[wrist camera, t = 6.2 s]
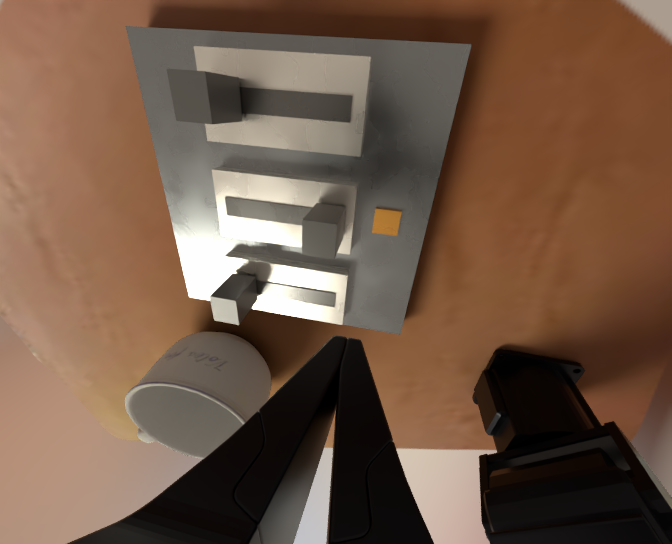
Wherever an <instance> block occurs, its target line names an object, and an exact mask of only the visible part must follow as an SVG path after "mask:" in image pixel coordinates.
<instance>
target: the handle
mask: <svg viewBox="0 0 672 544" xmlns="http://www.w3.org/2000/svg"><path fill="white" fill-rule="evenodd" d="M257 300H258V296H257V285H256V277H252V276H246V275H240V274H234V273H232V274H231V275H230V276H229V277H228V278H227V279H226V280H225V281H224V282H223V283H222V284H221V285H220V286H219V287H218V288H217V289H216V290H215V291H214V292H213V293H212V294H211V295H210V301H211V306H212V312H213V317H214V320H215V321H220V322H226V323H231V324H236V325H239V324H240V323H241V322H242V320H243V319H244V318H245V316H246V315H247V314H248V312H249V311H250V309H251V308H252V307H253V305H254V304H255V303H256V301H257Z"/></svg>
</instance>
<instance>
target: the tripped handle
mask: <svg viewBox="0 0 672 544" xmlns="http://www.w3.org/2000/svg"><path fill="white" fill-rule="evenodd" d="M345 214H346V207H343V206H335V205H328V204H320V203H316V204H315V205H314V207H313V208H312V209H311V210H310V211H309V213H308V214H307V215H306V216H305V217H304V218H303V220H302V255H306V256H313V257H320V258H326V259H333V260H334V259H335V257H336V254H337V252H338V250H339V247H340V245H341V242H342V240H343V236H344V225H345Z"/></svg>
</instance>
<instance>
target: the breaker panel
mask: <svg viewBox="0 0 672 544" xmlns="http://www.w3.org/2000/svg"><path fill="white" fill-rule="evenodd" d="M126 30H127V34H128V38H129V43H130V47H131V51H132V55H133V60H134V64H135V68H136V72H137V77H138V81H139V85H140V89H141V94H142V98H143V102H144V106H145V111H146V115H147V119H148V123H149V128H150V132H151V136H152V140H153V145H154V149H155V153H156V157H157V162H158V166H159V170H160V175H161V179H162V183H163V187H164V192H165V196H166V200H167V204H168V209H169V213H170V217H171V221H172V226H173V230H174V234H175V238H176V243H177V247H178V251H179V255H180V260H181V264H182V268H183V272H184V277H185V281H186V285H187V289H188V294H189V297H192V298H198V299H203V300H209V301H210V295H211V294H212V293H213V292H214V291H215V290H216V289H217V288H218V287H219V286H220V285H221V284H222V283H223V282H224V281H225V280H226V279H227V278H228V277H229V276H230V275H231V274H232V273H234V274H240V275H246V276H252V277H256V285H257V296H258V300H257V301H256V303H255V304H254V305H253V307H252V308H251V309H255V310H261V311H266V312H272V313H278V314H283V315H289V316H294V317H300V318H306V319H311V320H317V321H322V322H328V323H333V324H339V325H348V326H354V327H360V328H365V329H371V330H376V331H382V332H388V333H393V334H399V335H400V334H401V330H402V326H403V322H404V318H405V313H406V309H407V305H408V301H409V297H410V293H411V289H412V285H413V281H414V277H415V273H416V269H417V265H418V261H419V257H420V252H421V248H422V244H423V240H424V236H425V232H426V228H427V224H428V220H429V216H430V212H431V208H432V204H433V200H434V196H435V192H436V187H437V183H438V179H439V175H440V171H441V167H442V163H443V159H444V155H445V151H446V147H447V143H448V139H449V135H450V131H451V126H452V122H453V118H454V114H455V110H456V106H457V102H458V98H459V94H460V90H461V86H462V82H463V78H464V74H465V70H466V66H467V61H468V57H469V53H470V49H471V45H472V44H457V43H438V42H419V41H400V40H381V39H362V38H343V37H324V36H305V35H286V34H267V33H248V32H228V31H209V30H190V29H171V28H152V27H133V26H126ZM166 68H167V69H181V70H195V71H206V72H212V73H217V74H223V75H228V76H233V77H239V86H240V98H241V110H242V121H243V122H233V123H222V124H203V123H192V122H182V121H176V117H175V112H174V106H173V101H172V96H171V91H170V85H169V80H168V75H167V70H166ZM316 203H320V204H328V205H335V206H343V207H346V214H345V225H344V236H343V240H342V242H341V245H340V247H339V250H338V252H337V254H336V257H335V259H334V260H333V259H326V258H320V257H313V256H306V255H302V220H303V218H304V217H305V216H306V215H307V214H308V213H309V211H310V210H311V209H312V208H313V207H314V205H315V204H316Z"/></svg>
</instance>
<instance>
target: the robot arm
mask: <svg viewBox="0 0 672 544" xmlns="http://www.w3.org/2000/svg"><path fill="white" fill-rule="evenodd" d="M500 355H503V356H500ZM584 371H585V370H584V368H583V366H582V365H581V364H580V363H577V362H571V361H565V360H560V359H554V358H548V357H543V356H537V355H531V354H526V353H520V352H515V351H509V350H503V349H499V350H496V351H495V352H494V353H493V355H492V357H491V360H490V362H489V364H488V366H487V368H486V369H485V370H484V371H483V372H482V374H481V376H480V378H479V380H478V382H477V384H476V387H475V389H474V391H475V392H474V394H473V397H472V398H473V401H474V403H475V404H478V406H479V409H480V413H481V417H482V421H483V424H484V428H485V431H486V433H487V434H488V435H491V436H493V439H494V442H495V446H496V449H497V453H494V454H490V455H487V454H484V455H480V456H479V464H480V468H479V471H480V491H481V516H482V524H483V526H484V529H485V533H486V536H487V538H488V540H489V541H490V544H672V497H671V496H670V495H669V493H668V492H667V490H666V489H665V488H664V486H663V485H662V484H661V482H660V481H659V479H658V478H657V476H656V475H655V474H654V472H653V471H652V469H651V468H650V467H649V465H648V464H647V462H646V461H645V460H644V458H643V457H642V456H641V455H640V454H639V452H638V451H637V450H636V449H635V447H634V446H633V445H632V443H631V442H630V441H629V440H628V438H627V437H626V436H625V435H624V433H623V432H622V431H621V430H620V428H619V427H618V426H617V425H616V423H615V422H614V421H612V422H608V423H604V426H601V424H600V422H599V421H598V419H597V418H596V416H595V415H594V413H593V411H592V410H591V408H590V407H589V405H588V404H587V402H586V400H585V399H584V397H583V396H582V394H581V393H580V391H579V389H578V388H577V386H576V385H575V384H576V382H577V381H578V380H579V378H580V377H581V376H582V374H583V373H584ZM335 410H336V416H335V430H334V444H333V458H332V473H331V486H330V502H329V515H328V529H327V543H326V544H434V542H433V540H432V538H431V536H430V533H429V531H428V529H427V527H426V524H425V522H424V520H423V518H422V515H421V513H420V511H419V509H418V506H417V504H416V501H415V499H414V497H413V494H412V492H411V489H410V487H409V485H408V482H407V480H406V477H405V474H404V471H403V468H402V465H401V463H400V460H399V457H398V454H397V451H396V447H395V444H394V442H392V441H393V439H392V435H391V432H390V429H389V426H388V423H387V420H386V417H385V413H384V410H383V407H382V404H381V401H380V398H379V395H378V392H377V388H376V385H375V382H374V379H373V376H372V373H371V370H370V367H369V363H368V360H367V357H366V354H365V351H364V348H363V345H362V342H361V340H359V339H353V338H348V339H347V338H346V337H342V336H336V335H335V336H333V337H332V338H331V339H330V340H329V341H328V342H327V343H326V344H325V345H324V346H323V347H322V348H321V349H320V350H319V351H318V352H317V353H316V354H315V355H314V356H313V357H312V358H311V359H310V360H309V361H308V362H307V363H306V364H305V365H304V366H303V367H301V368H300V369H299V370H298V371H297V372H296V373H295V374H294V375H293V376H292V377H291V378H290V379H289V380H288V381H287V382H286V383H285V384H284V385H283V386H282V387H281V388H280V389H279V390H278V391H277V392H276V393H275V394H274V395H273V396H272V397H271V398H270V399H269V400H268V401H267V402H266V403H265V404H264V405H263V406H262V407H261V408H260V409H259V411H257V412H256V413H255V414H254V415H253V416H252V417H251V418H250V419H249V420H247V421H246V422H245V423H244V424H243V425H242V426H241V427H240V428H239V429H238V430H237V431H236V432H235V433H234V434H233V435H231V436H230V437H229V438H228V439H227V440H226V441H225V442H223V443H222V444H221V445H220V446H219V447H217V448H216V449H215V450H214V451H213V452H211V453H210V454H209V455H208V456H207V457H205V458H204V459H203V460H202V461H200V462H199V463H198V464H197V465H195V466H194V467H193V468H192V469H191V470H189V471H188V472H187V473H186V474H184V475H183V476H182V477H180V478H179V479H178V480H177V481H175V482H174V483H173V484H172V485H170V486H169V487H168V488H167V489H166V490H164V491H163V492H162V493H161V494H159V495H158V496H157V497H156V498H154V499H153V500H152V501H150V502H149V503H148V504H146V505H145V506H143V507H142V508H140V509H139V510H137V511H136V512H134V513H132V514H131V515H129V516H127V517H125V518H124V519H122V520H120V521H118V522H116V523H114V524H111V525H109V526H107V527H105V528H102V529H100V530H98V531H95V532H93V533H91V534H88V535H86V536H84V537H82V538H79V539H77V540H74V541H72V542H70V543H68V544H293V542H294V539H295V536H296V533H297V530H298V527H299V524H300V521H301V517H302V514H303V511H304V508H305V505H306V502H307V499H308V496H309V492H310V489H311V486H312V483H313V480H314V477H315V474H316V471H317V468H318V464H319V461H320V458H321V455H322V452H323V449H324V446H325V443H326V439H327V436H328V433H329V430H330V427H331V424H332V421H333V417H334V414H335Z"/></svg>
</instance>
